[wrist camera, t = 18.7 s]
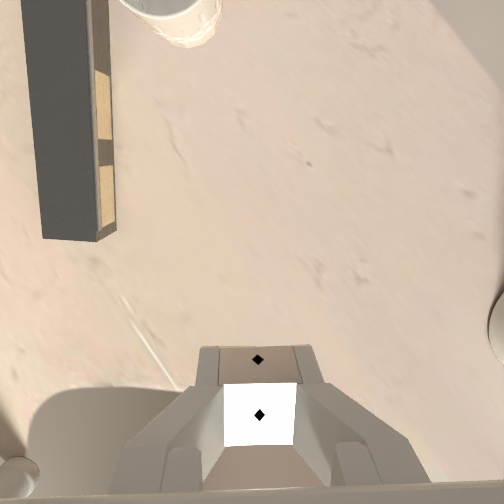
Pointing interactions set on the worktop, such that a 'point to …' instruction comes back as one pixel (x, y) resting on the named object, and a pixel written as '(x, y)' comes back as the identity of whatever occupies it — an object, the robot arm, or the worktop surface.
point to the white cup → (179, 19)
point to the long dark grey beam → (71, 116)
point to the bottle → (18, 478)
